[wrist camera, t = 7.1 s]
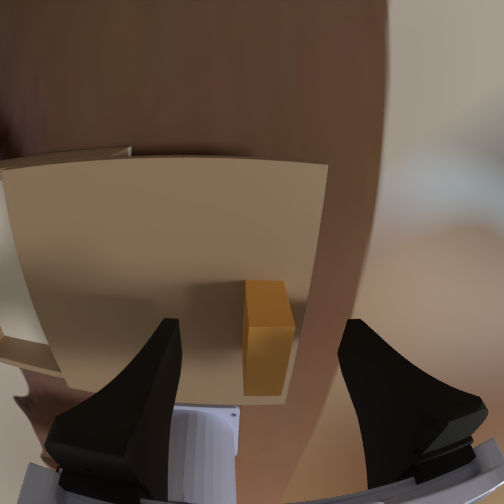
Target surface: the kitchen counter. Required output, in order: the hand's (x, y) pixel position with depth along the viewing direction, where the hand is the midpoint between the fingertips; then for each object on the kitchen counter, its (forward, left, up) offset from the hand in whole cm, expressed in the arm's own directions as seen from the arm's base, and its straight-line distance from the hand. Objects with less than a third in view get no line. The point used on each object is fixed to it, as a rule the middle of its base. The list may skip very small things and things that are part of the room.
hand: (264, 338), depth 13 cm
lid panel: (0, +5, -2) cm, 5 cm away
